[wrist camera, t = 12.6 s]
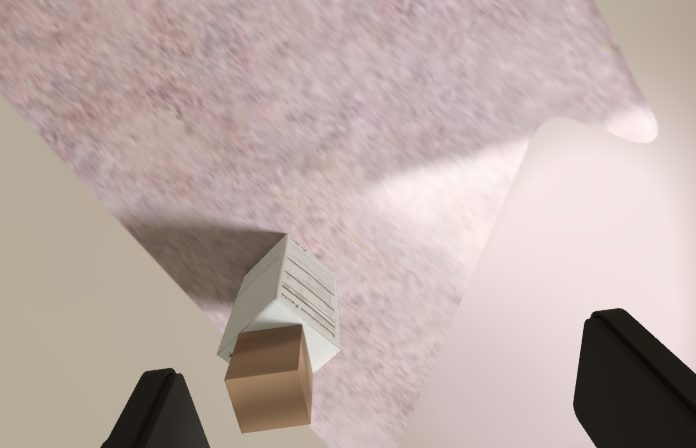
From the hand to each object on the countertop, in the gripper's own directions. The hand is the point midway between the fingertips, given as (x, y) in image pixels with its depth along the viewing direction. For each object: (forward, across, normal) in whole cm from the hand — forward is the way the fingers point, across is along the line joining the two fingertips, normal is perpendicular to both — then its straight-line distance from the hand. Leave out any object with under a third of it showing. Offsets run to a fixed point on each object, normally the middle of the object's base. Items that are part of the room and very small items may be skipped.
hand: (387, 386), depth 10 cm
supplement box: (+32, +7, +15) cm, 36 cm away
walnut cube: (+19, +7, +15) cm, 26 cm away
